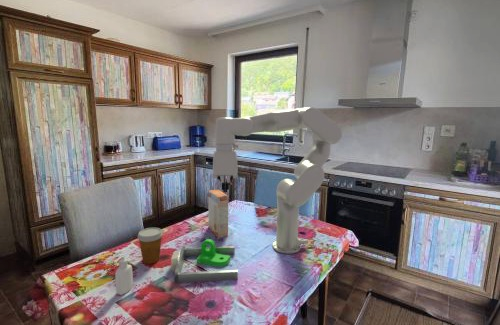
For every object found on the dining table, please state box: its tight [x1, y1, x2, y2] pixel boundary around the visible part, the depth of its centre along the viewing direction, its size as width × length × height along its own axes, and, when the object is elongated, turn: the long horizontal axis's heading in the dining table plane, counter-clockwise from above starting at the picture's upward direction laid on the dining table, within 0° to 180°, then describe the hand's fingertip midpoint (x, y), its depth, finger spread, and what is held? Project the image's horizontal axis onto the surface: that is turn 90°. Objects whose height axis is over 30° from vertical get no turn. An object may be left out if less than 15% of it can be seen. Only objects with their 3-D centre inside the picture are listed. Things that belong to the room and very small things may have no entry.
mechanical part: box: [196, 238, 231, 268], centre depth 106 cm, size 12×6×8 cm, turn 74°
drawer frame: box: [170, 245, 239, 284], centre depth 102 cm, size 24×20×5 cm
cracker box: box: [207, 188, 229, 239], centre depth 133 cm, size 14×6×21 cm, turn 27°
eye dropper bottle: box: [114, 255, 134, 296], centre depth 87 cm, size 4×6×12 cm
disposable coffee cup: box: [137, 227, 164, 265], centre depth 106 cm, size 10×10×12 cm
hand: (225, 191), depth 110 cm, fingers closed
